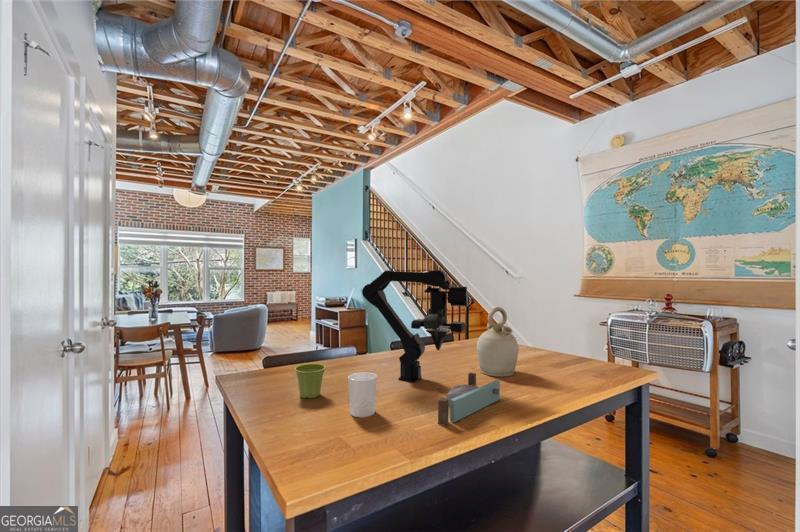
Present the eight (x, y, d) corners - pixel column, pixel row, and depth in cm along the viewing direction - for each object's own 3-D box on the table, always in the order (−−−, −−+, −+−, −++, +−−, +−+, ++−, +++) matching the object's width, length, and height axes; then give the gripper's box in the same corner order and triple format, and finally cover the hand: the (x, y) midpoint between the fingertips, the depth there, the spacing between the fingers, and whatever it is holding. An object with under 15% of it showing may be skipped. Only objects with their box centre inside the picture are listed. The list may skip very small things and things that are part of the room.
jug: (524, 378, 131) (524, 309, 131) (481, 378, 131) (481, 309, 131) (511, 367, 146) (511, 305, 146) (473, 367, 146) (473, 305, 147)
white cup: (365, 421, 94) (365, 382, 94) (341, 414, 98) (341, 377, 98) (382, 411, 100) (382, 374, 100) (360, 405, 105) (360, 370, 105)
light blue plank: (438, 423, 92) (438, 400, 92) (470, 391, 117) (470, 372, 117) (445, 425, 91) (445, 401, 91) (476, 392, 116) (476, 373, 116)
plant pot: (331, 395, 113) (331, 367, 113) (305, 403, 106) (305, 373, 106) (314, 388, 119) (314, 362, 120) (288, 395, 113) (288, 367, 113)
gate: (450, 421, 93) (450, 399, 93) (496, 398, 110) (496, 380, 110) (457, 423, 92) (457, 402, 92) (503, 400, 108) (503, 381, 108)
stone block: (445, 412, 105) (479, 410, 101) (442, 395, 105) (476, 392, 102) (455, 399, 116) (486, 397, 112) (452, 384, 116) (483, 381, 113)
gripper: (404, 306, 125) (404, 351, 125) (456, 309, 116) (456, 357, 116) (417, 303, 135) (417, 345, 135) (466, 306, 126) (466, 350, 126)
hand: (438, 349), depth 127 cm, fingers closed
